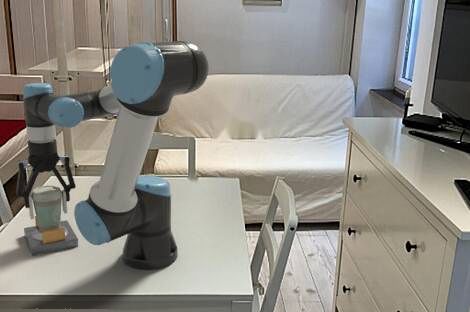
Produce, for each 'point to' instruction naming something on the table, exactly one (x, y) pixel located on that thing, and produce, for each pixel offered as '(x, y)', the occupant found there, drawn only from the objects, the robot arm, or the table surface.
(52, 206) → the coffee cup
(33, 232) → the block
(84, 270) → the table surface
